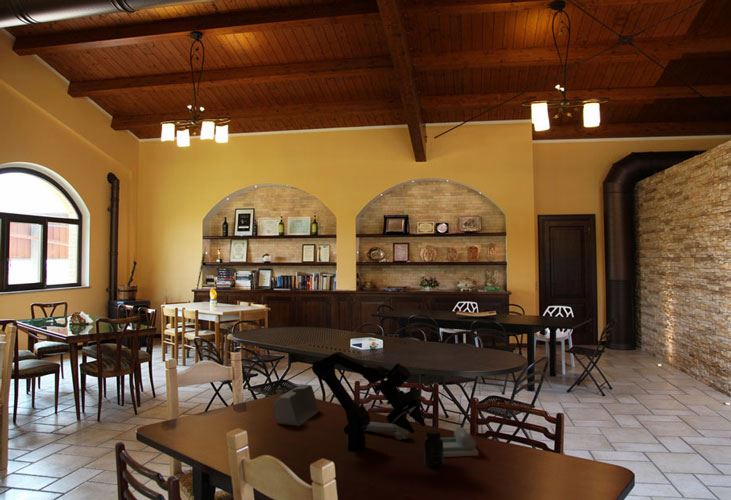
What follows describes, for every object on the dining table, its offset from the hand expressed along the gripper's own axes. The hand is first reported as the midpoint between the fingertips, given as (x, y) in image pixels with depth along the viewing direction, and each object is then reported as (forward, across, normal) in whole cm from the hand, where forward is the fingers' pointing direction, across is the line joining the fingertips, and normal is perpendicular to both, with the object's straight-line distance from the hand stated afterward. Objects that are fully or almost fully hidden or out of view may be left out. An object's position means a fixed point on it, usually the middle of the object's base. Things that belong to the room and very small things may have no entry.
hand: (419, 428), depth 188 cm
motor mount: (+12, +18, +4) cm, 22 cm away
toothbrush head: (-10, +18, +28) cm, 35 cm away
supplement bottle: (+12, 0, +5) cm, 13 cm away
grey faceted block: (-43, +18, +60) cm, 76 cm away
